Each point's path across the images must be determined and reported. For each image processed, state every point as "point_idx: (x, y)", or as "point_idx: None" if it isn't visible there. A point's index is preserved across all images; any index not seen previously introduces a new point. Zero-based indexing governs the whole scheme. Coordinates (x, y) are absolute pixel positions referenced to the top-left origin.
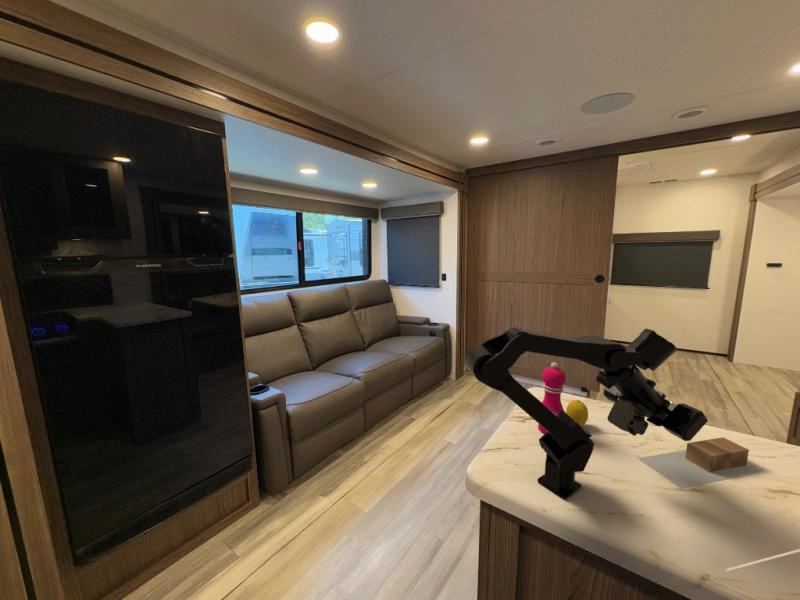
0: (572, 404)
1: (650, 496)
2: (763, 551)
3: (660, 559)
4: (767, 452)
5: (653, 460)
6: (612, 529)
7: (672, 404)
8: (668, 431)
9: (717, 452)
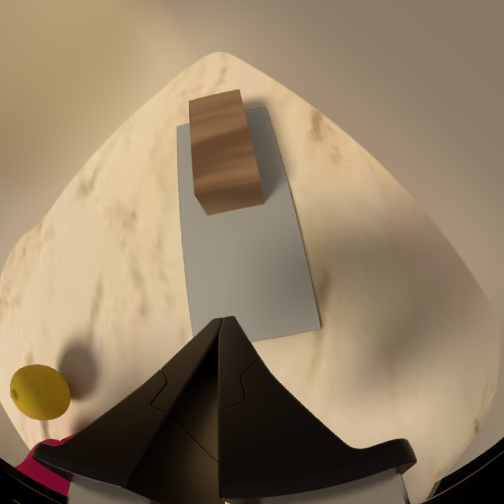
0: (24, 413)
1: (336, 419)
2: (459, 299)
3: (447, 469)
4: (212, 69)
5: (207, 310)
6: None
7: (353, 482)
8: (429, 495)
9: (244, 152)
